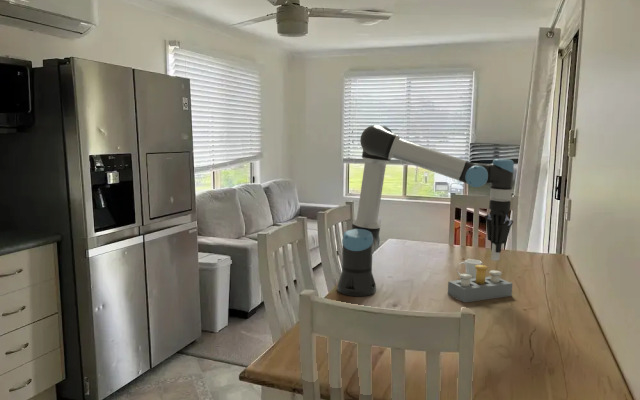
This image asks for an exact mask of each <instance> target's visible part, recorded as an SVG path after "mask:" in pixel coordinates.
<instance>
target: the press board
mask: <svg viewBox="0 0 640 400" xmlns="http://www.w3.org/2000/svg"><path fill="white" fill-rule="evenodd" d="M490 277H491V275H490V276H485V284H477V283H476V278H472V279H470V286H467V287H463V286H461V279H456V280H449V281H448V284H447V294H448V295H449V296H451V297H453V298H455V299H457V300H459V301H461V302H463V303H469V302H471V303H472V302H477V301H483V300H484V301H485V300H492V299H498V298H506V297H512V296H513V293H512V292H513V282H510V281H507V280H505V279H503V278H500V282H499V283H493V282H490Z"/></svg>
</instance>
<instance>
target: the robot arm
mask: <svg viewBox="0 0 640 400" xmlns="http://www.w3.org/2000/svg"><path fill="white" fill-rule="evenodd" d="M359 141H360V146H361V149H362V154H361V158H362V160H363V162H364V165H363V173H362V179H361V186H360V194H359V201H358V208H357V216H356V219H354V221H352V224H351V229H348V230H346V231H345V232H344V233H343V234H342V235H343V236H342V240H341V242H342V256H341V257H342V258H341V260H342V261H341V263H342V265H341V273H340V276H339V279H338V281H337V287H336V289H337V292H338V293H340V294H342V295H344V296H349V297H367V296H372V295H373V294H375V293H376V292H377V284H376V281H375V278H374V274H373V269H372V268H373V254H374V253H375V252H376V251H377V249H378V248H379V245H380V241H381V240H380V231H381V225H380V224H379V222H378V220H379V213H380V206H381V200H382V192H383V187H384V179H385V173H386V168H387V167H386V166H387V164H389V163H390V162H391V159H395V160H398V161H401V162H404V163H407V164H409V165H412V166H415V167H418V168H421V169H423V170H428V171H430V172H432V173H434V174H435V173H436V174H438V175H441V176H444V177H448V178H450V179H454V180H456V181H459V182H461V183H465V184H467V185H469V186H471V187H474V188H479V187H482V186H484V185H486V184H487V185H488V184H490V191H489V198H490V200H489V207H488V209H489V210H490V211H489V214H486V215H484V218H485V219H484V220H485V221H486V234H487V240H488V241H490V243H491V245H490V251H491V256H490V260H491V261H496V262H497V261H500V255H501V253H502V252H501V251H502V245H504V244H505V245H506V243H507V240H508V237H509V234H510V231H511V227H512V225H513V224H514V221H513V220H511V219H510V216H509V212H510V210H511V206H512V205H511V203H512V202H511V199H512V191H513V190H512V189H513V183H514V182H513V179H514V174H515V172H514V166H515V165H514V164H515V163H514V160H512V159H509V158H507V159H506V158H494V159H493V160H492V163H476V162H475V163H474V162H470V161H466V160H464V159H462V158H459V157H455V156H453V155H449V154H446V153H444V152H441V151H438V150H435V149H432V148H429V147H425V146H423V145H421V144H418V143H417V144H416V143H414V142H412V141H408V140H405V139H403V138H400V136H399V134H396V133H394V132H393V131H392V130H391V129H390V128H389V127H388V126H384V125H378V124H377V125H375V124H373V125H370V126H368V127H366V128H365V129H364V130H363V132H362V133H361V135H360V139H359Z"/></svg>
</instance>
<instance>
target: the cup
mask: <svg viewBox="0 0 640 400" xmlns="http://www.w3.org/2000/svg"><path fill="white" fill-rule="evenodd" d="M461 264H462V265H464V266H465V274H470V275H472V278H476V268H475V265H483V262H482V261H481V260H479V259H474V258H472V259H465V260H464V261H463V262H459V263H458V265H457V267H456V271H457V274H458V275H459V276H460V274H461V273H460V272H459V267H460V265H461ZM472 278H471V279H472Z"/></svg>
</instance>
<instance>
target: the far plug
mask: <svg viewBox="0 0 640 400" xmlns="http://www.w3.org/2000/svg"><path fill="white" fill-rule="evenodd" d="M502 273H503V272H502V271H499V270H494V269H492V270H489V273H488V274H490V276H491V277H490V276H489V277H490V282H493V283H499V282H500V279H501V276H502Z"/></svg>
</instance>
